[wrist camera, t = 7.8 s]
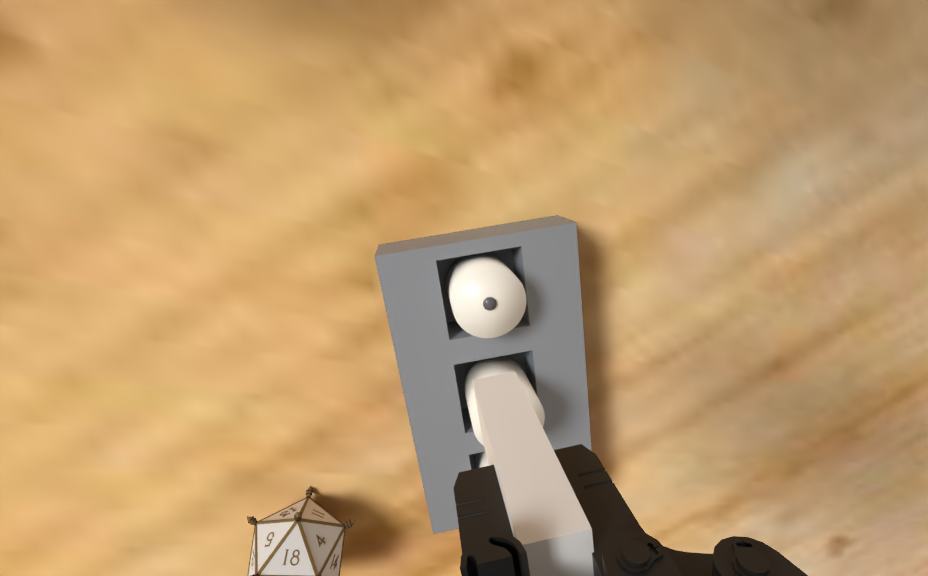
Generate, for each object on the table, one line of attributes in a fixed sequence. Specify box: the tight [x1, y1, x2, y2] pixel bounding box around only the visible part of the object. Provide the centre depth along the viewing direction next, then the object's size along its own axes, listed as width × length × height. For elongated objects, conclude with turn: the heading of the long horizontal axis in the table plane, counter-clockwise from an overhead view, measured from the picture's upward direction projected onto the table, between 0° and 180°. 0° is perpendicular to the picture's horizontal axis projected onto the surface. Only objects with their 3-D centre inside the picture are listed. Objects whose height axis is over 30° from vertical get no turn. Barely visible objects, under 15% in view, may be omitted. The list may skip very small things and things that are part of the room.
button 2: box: [464, 356, 545, 446], centre depth 32 cm, size 5×5×5 cm
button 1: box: [446, 252, 526, 338], centre depth 31 cm, size 5×5×5 cm
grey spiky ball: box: [247, 486, 355, 576], centre depth 36 cm, size 9×8×10 cm
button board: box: [375, 215, 592, 534], centre depth 35 cm, size 24×14×4 cm, turn 8°
